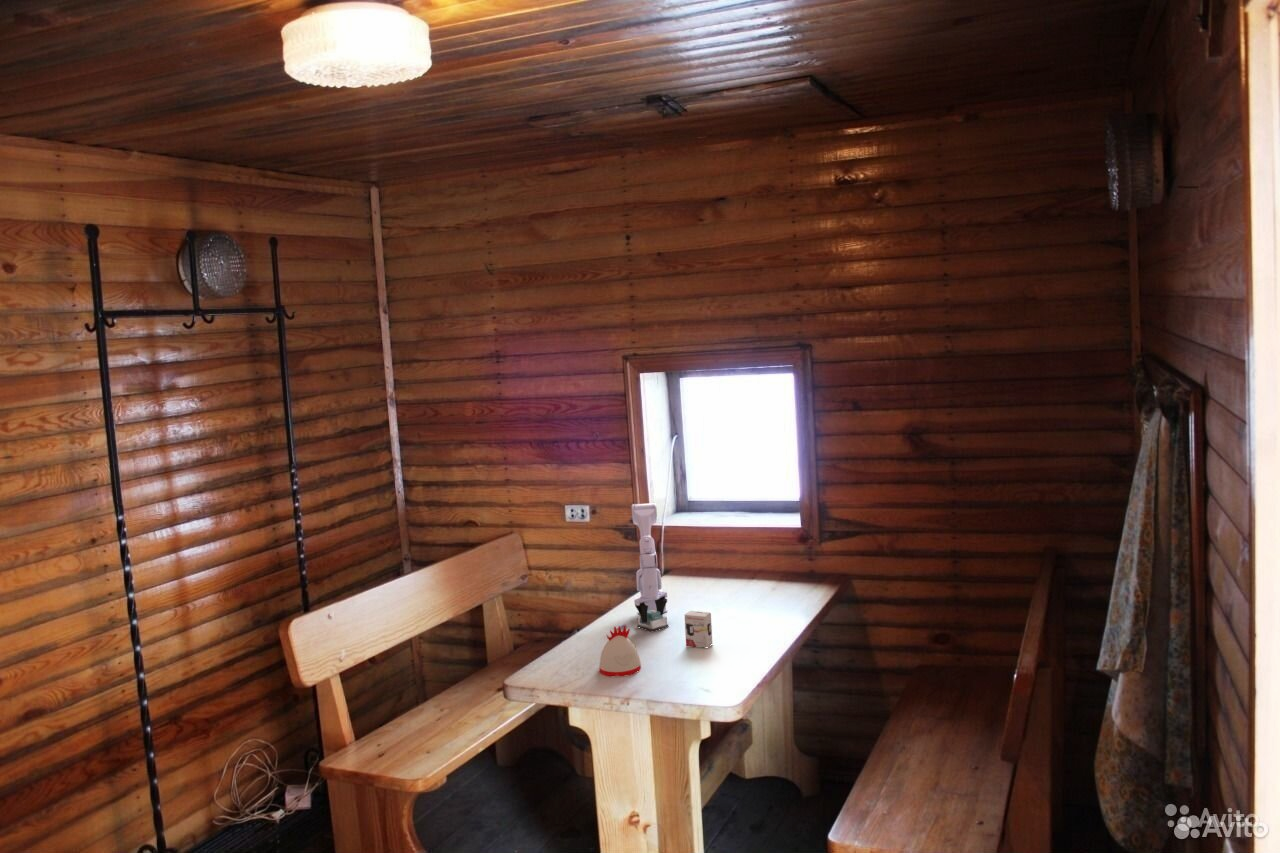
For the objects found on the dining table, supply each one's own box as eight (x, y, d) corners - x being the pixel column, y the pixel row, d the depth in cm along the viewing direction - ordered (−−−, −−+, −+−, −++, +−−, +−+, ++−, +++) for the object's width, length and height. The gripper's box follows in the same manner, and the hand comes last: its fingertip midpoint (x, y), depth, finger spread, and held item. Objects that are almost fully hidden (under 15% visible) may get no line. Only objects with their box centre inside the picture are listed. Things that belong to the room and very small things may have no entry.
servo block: (650, 621, 391) (649, 607, 391) (663, 625, 385) (662, 610, 384) (642, 623, 389) (641, 609, 388) (655, 627, 382) (654, 613, 382)
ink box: (685, 646, 361) (683, 614, 360) (691, 642, 366) (689, 610, 364) (707, 648, 357) (705, 616, 356) (713, 644, 362) (711, 612, 360)
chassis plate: (653, 622, 393) (652, 612, 393) (668, 626, 386) (667, 616, 386) (637, 627, 388) (636, 617, 388) (652, 632, 381) (651, 621, 381)
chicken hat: (645, 672, 337) (642, 628, 336) (605, 679, 333) (602, 634, 332) (634, 660, 350) (631, 617, 349) (595, 666, 347) (592, 623, 345)
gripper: (641, 590, 378) (644, 626, 379) (671, 582, 387) (673, 617, 388) (630, 587, 383) (632, 622, 385) (659, 579, 392) (661, 613, 394)
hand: (652, 619), depth 387 cm, fingers open, 7 cm apart
